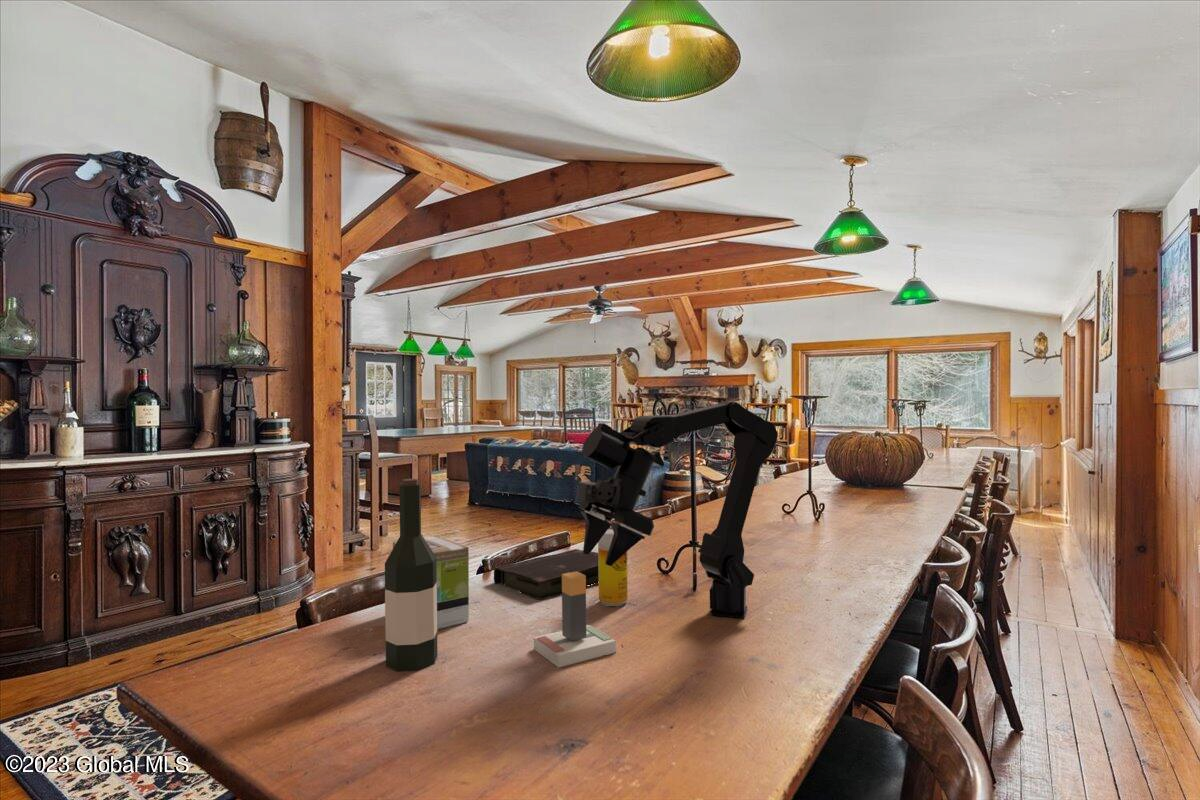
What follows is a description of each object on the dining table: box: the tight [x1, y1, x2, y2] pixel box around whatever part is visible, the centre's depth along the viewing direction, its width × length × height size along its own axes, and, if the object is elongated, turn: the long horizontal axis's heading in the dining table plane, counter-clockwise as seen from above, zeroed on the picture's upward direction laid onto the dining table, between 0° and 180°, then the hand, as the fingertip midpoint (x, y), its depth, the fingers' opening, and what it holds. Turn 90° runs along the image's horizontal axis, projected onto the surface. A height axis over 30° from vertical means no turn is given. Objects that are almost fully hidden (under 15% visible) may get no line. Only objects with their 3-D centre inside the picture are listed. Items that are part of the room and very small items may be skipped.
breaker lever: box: [561, 572, 587, 641], centre depth 109 cm, size 3×3×10 cm
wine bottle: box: [384, 478, 438, 672], centre depth 106 cm, size 8×8×30 cm
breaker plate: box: [533, 624, 617, 668], centre depth 109 cm, size 11×9×2 cm
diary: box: [493, 548, 599, 600], centre depth 151 cm, size 19×25×5 cm
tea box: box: [392, 535, 470, 630], centre depth 127 cm, size 15×10×15 cm, turn 39°
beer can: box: [597, 528, 629, 607], centre depth 135 cm, size 6×6×15 cm
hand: (596, 559), depth 115 cm, fingers open, 9 cm apart
